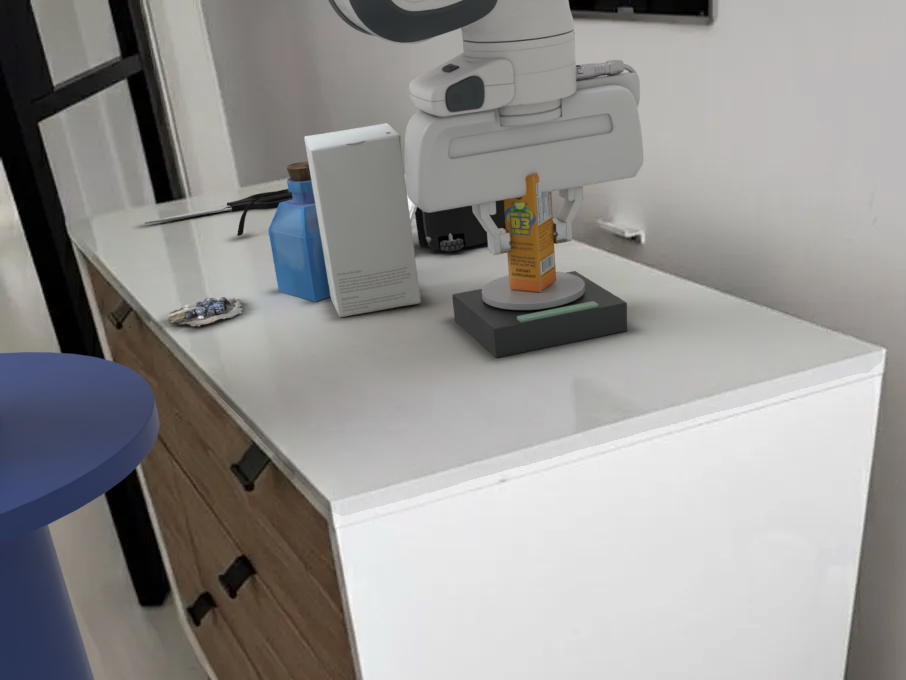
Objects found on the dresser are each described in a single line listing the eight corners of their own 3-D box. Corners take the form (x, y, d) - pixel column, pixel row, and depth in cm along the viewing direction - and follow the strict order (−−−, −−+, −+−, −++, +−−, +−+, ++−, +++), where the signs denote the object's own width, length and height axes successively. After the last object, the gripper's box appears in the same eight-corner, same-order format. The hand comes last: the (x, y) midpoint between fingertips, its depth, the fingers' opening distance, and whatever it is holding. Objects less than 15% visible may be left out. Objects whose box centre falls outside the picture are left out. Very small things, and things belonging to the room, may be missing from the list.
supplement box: (506, 291, 106) (498, 172, 100) (525, 279, 108) (518, 162, 103) (539, 294, 104) (533, 173, 99) (558, 282, 106) (553, 164, 101)
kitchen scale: (496, 358, 101) (493, 319, 99) (454, 321, 110) (451, 285, 109) (627, 331, 104) (626, 293, 102) (576, 297, 113) (574, 261, 111)
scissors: (152, 232, 149) (305, 203, 156) (150, 225, 149) (304, 196, 155) (140, 222, 155) (288, 194, 161) (138, 215, 154) (287, 188, 161)
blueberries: (155, 327, 117) (150, 309, 116) (207, 294, 123) (203, 276, 122) (209, 337, 114) (205, 318, 113) (260, 302, 120) (256, 284, 119)
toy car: (533, 179, 128) (516, 178, 133) (424, 196, 126) (411, 194, 131) (539, 237, 130) (522, 233, 136) (432, 254, 128) (419, 250, 133)
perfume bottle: (278, 291, 123) (257, 168, 117) (327, 275, 126) (309, 155, 120) (314, 301, 119) (295, 175, 113) (364, 285, 122) (347, 161, 116)
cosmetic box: (410, 287, 120) (392, 121, 112) (423, 306, 115) (404, 133, 107) (326, 299, 119) (302, 133, 111) (335, 320, 114) (310, 146, 105)
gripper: (622, 52, 102) (625, 219, 109) (389, 86, 97) (408, 258, 105) (656, 60, 97) (656, 234, 104) (412, 96, 92) (430, 276, 99)
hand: (530, 247), depth 104 cm, fingers closed on supplement box, 4 cm apart
